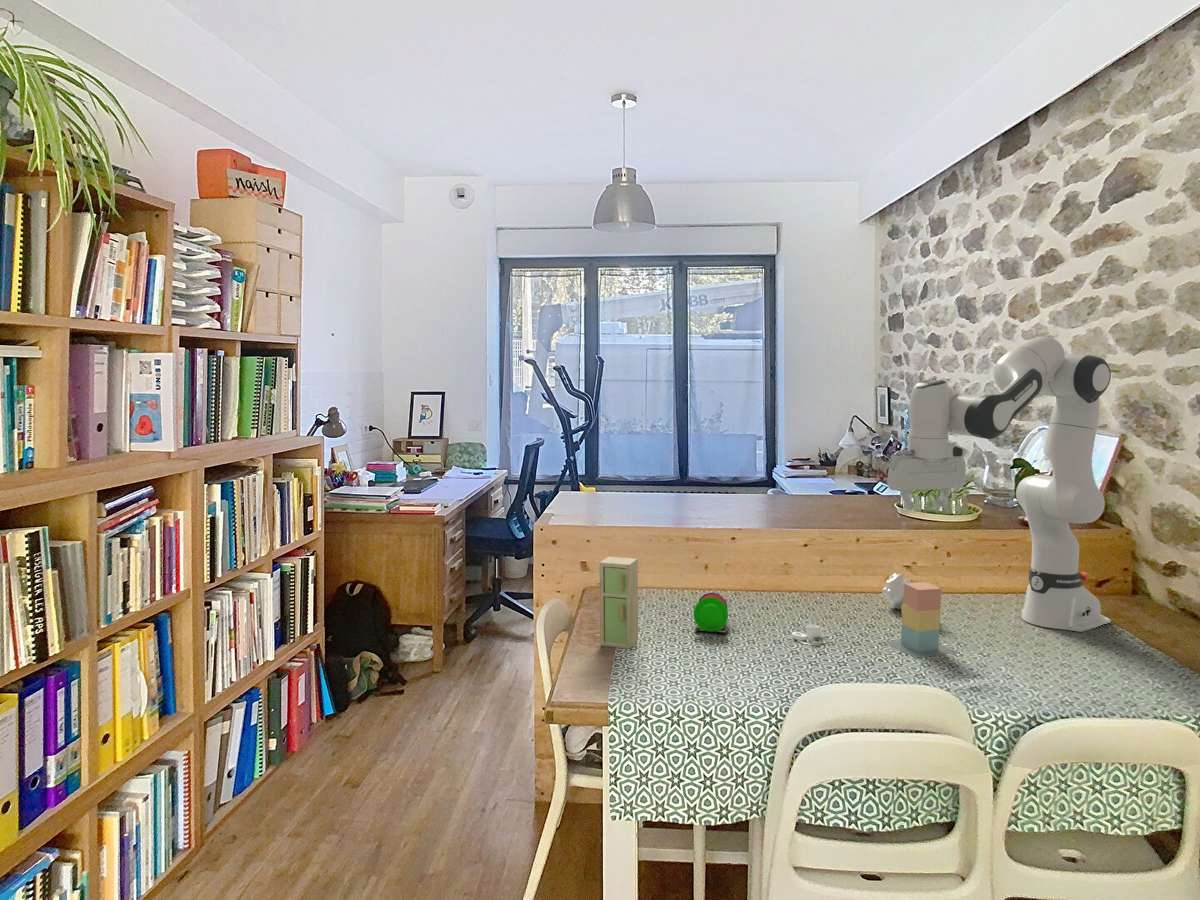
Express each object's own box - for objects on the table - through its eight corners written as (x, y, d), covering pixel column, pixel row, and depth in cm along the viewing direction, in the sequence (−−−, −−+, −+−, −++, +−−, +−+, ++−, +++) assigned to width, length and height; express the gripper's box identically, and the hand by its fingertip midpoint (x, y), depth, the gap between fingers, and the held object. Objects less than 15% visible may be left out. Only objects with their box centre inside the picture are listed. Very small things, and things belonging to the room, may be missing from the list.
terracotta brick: (926, 602, 203) (926, 582, 203) (940, 609, 197) (941, 588, 197) (903, 603, 202) (904, 583, 201) (917, 610, 196) (918, 589, 196)
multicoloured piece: (697, 627, 227) (693, 635, 212) (694, 592, 228) (690, 597, 213) (730, 626, 225) (729, 634, 210) (728, 590, 226) (726, 596, 211)
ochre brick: (921, 621, 204) (922, 601, 204) (939, 629, 198) (940, 608, 198) (901, 624, 202) (902, 604, 202) (918, 631, 196) (919, 611, 196)
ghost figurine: (887, 602, 243) (888, 568, 242) (921, 607, 238) (922, 573, 237) (877, 609, 236) (879, 574, 235) (912, 615, 230) (913, 579, 229)
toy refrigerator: (598, 646, 204) (598, 562, 202) (608, 637, 211) (608, 556, 209) (629, 650, 201) (629, 565, 199) (638, 641, 208) (638, 558, 206)
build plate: (921, 641, 208) (922, 636, 208) (957, 657, 197) (957, 652, 197) (882, 646, 204) (882, 642, 204) (916, 663, 193) (916, 658, 193)
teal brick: (920, 641, 205) (921, 621, 204) (938, 649, 199) (939, 629, 198) (900, 644, 202) (901, 624, 202) (918, 652, 197) (918, 631, 196)
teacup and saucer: (787, 641, 210) (787, 625, 209) (803, 633, 216) (803, 618, 215) (819, 649, 204) (819, 633, 203) (834, 641, 210) (835, 625, 209)
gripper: (900, 452, 189) (898, 512, 191) (971, 449, 196) (968, 507, 198) (882, 449, 195) (880, 508, 197) (951, 446, 202) (949, 503, 204)
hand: (925, 507), depth 197 cm, fingers open, 8 cm apart
